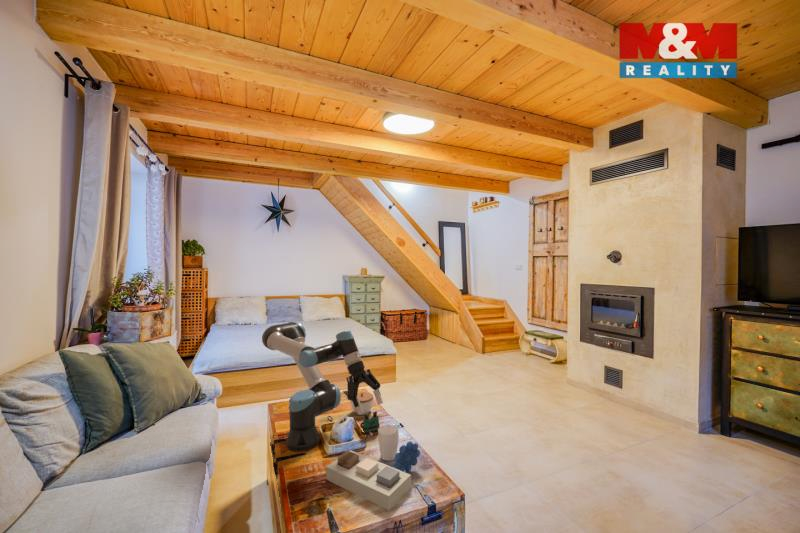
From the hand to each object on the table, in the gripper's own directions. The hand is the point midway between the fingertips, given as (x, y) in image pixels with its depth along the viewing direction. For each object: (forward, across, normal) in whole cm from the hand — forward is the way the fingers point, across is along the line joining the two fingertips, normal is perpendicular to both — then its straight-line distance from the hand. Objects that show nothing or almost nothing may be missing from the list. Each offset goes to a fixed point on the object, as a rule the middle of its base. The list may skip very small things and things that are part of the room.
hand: (371, 408), depth 153 cm
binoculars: (+11, +15, +21) cm, 28 cm away
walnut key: (+16, -16, +7) cm, 24 cm away
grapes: (+27, -1, -7) cm, 28 cm away
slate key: (+26, -16, -10) cm, 32 cm away
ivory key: (+21, -16, -2) cm, 26 cm away
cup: (+21, +3, +3) cm, 22 cm away
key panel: (+24, -16, 0) cm, 29 cm away
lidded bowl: (+2, +30, +37) cm, 48 cm away
